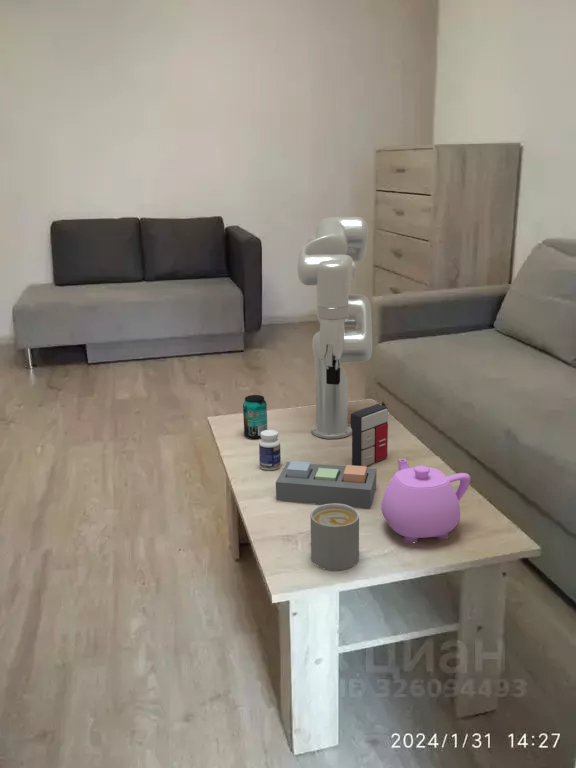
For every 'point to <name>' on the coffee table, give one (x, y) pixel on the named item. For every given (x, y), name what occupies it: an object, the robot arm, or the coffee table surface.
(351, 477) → the terracotta button
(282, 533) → the coffee table surface
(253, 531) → the coffee table surface
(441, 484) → the teapot
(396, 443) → the coffee table surface
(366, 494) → the button housing
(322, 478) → the sage button
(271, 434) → the pill bottle
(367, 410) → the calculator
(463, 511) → the coffee table surface
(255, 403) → the teal supplement jar
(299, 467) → the slate button
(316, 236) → the robot arm
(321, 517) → the coffee mug
